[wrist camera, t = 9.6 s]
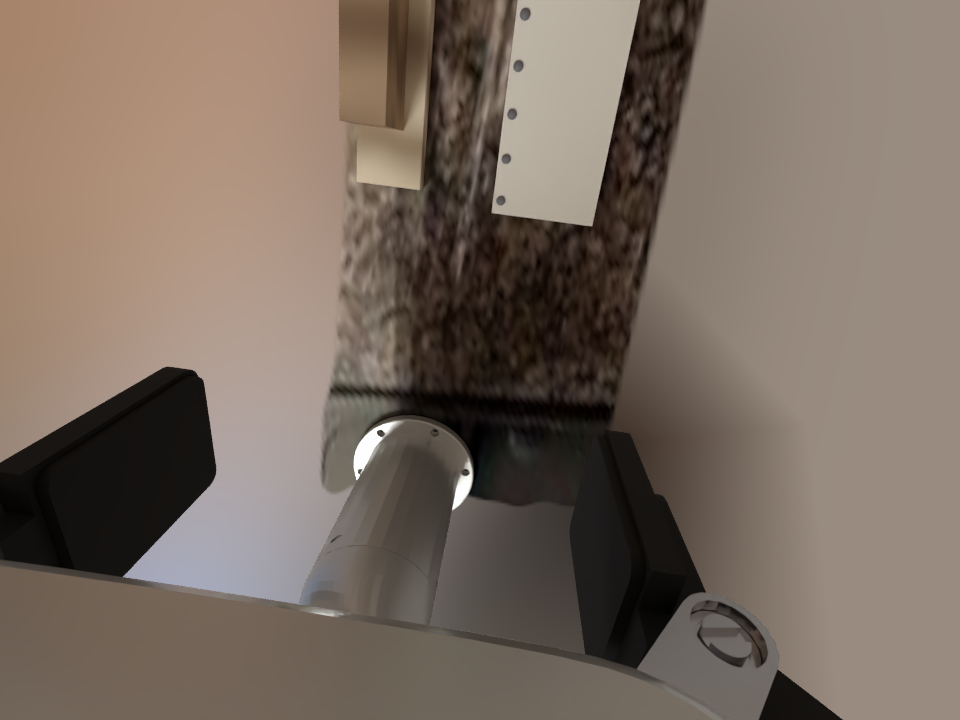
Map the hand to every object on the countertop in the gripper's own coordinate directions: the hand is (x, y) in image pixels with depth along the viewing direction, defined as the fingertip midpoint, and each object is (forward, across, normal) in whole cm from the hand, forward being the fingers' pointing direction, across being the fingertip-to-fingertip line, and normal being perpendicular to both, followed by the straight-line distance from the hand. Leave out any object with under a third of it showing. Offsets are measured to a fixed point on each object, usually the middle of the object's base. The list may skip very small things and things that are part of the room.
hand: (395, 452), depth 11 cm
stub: (+30, +8, -13) cm, 34 cm away
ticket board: (+30, -4, -13) cm, 33 cm away
